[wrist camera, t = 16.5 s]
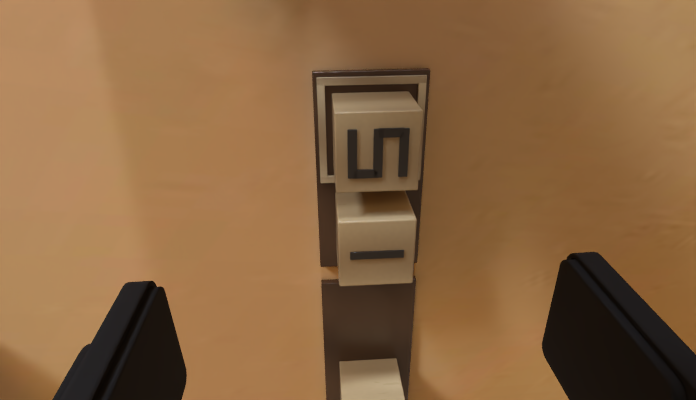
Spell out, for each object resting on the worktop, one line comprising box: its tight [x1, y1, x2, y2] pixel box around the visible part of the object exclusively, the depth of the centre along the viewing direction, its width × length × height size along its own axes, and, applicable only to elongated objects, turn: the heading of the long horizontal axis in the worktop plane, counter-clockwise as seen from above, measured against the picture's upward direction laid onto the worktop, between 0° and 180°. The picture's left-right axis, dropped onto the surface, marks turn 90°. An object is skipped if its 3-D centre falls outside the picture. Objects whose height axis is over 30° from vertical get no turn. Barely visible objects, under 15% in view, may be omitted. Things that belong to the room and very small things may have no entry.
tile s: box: [332, 91, 423, 193], centre depth 23 cm, size 4×4×4 cm
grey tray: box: [312, 68, 430, 286], centre depth 25 cm, size 12×6×4 cm, turn 1°
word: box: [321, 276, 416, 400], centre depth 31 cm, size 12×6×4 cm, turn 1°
